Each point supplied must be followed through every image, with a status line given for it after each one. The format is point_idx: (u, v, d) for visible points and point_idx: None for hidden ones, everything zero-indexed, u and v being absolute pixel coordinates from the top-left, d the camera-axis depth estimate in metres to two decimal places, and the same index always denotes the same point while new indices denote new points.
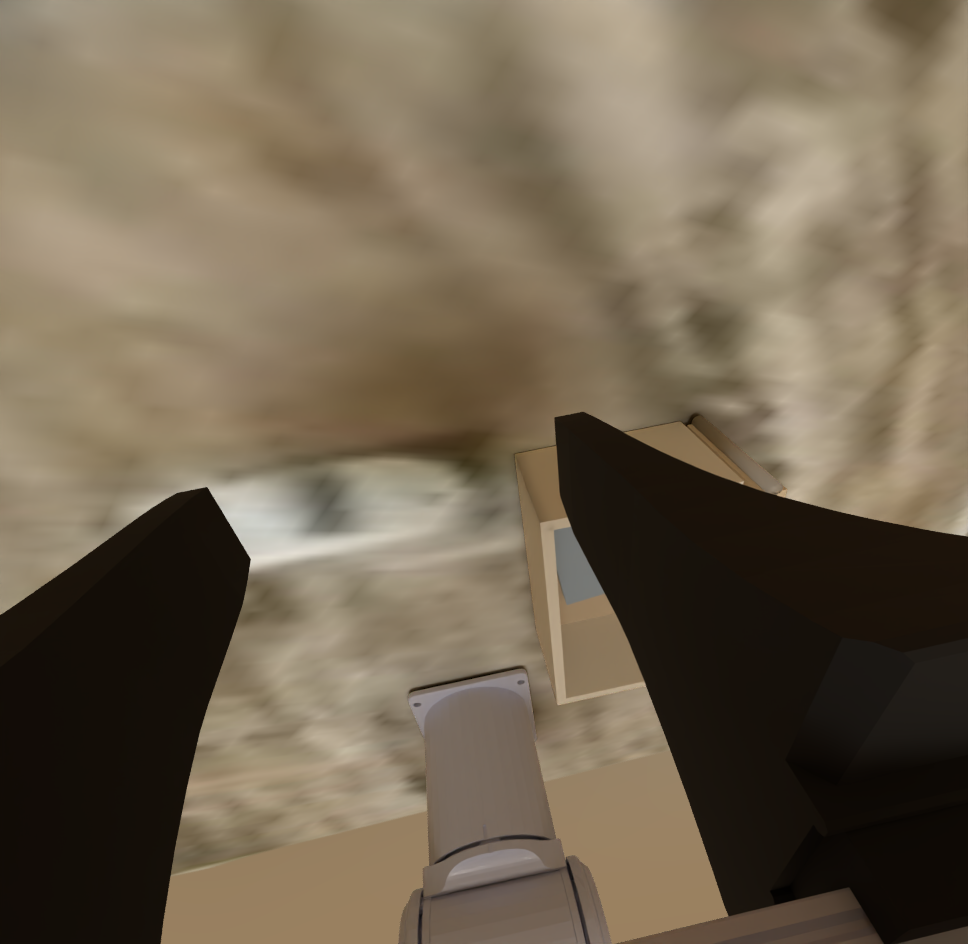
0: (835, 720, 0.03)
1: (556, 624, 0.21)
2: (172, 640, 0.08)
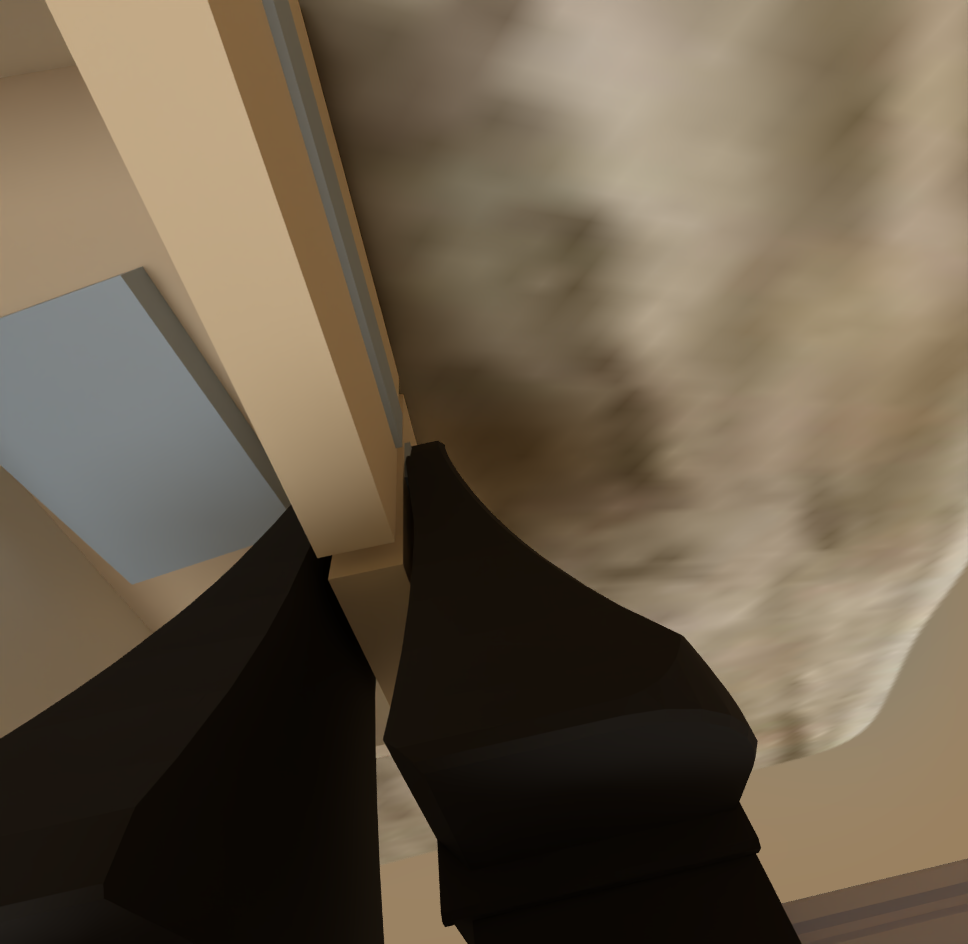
0: (430, 812, 0.03)
1: None
2: None
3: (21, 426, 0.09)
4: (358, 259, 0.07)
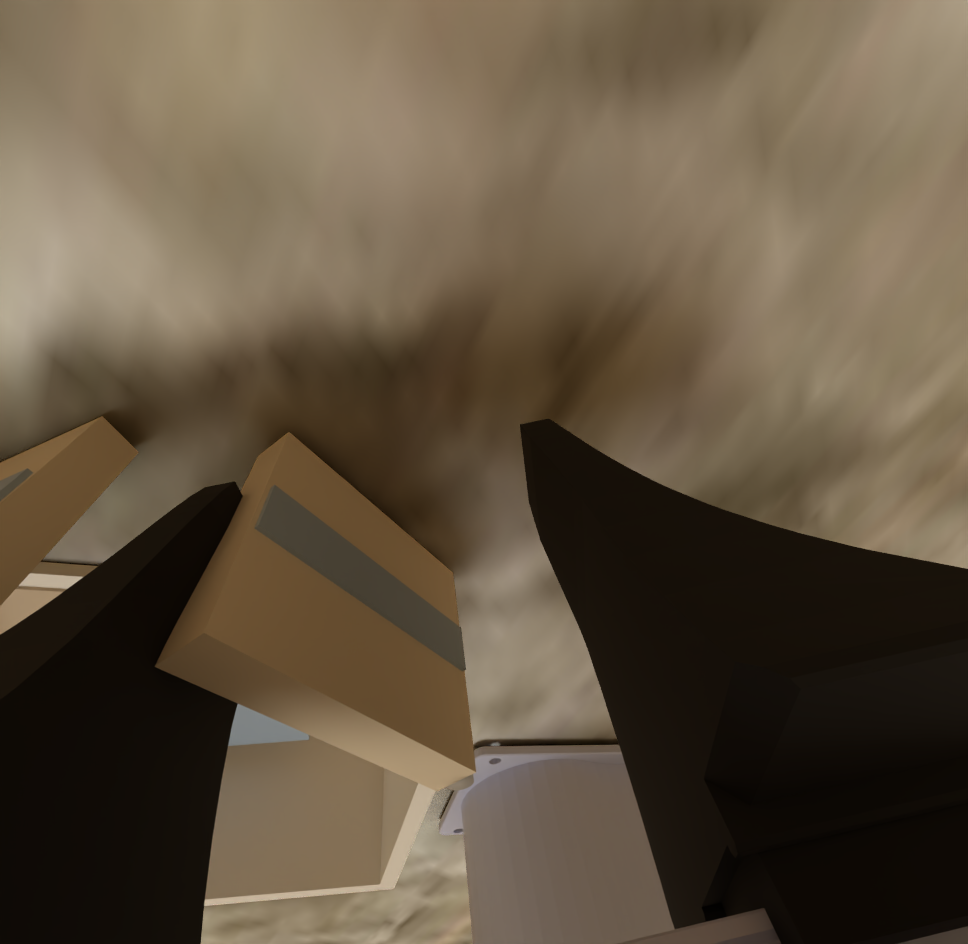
0: (740, 741, 0.03)
1: None
2: None
3: None
4: None
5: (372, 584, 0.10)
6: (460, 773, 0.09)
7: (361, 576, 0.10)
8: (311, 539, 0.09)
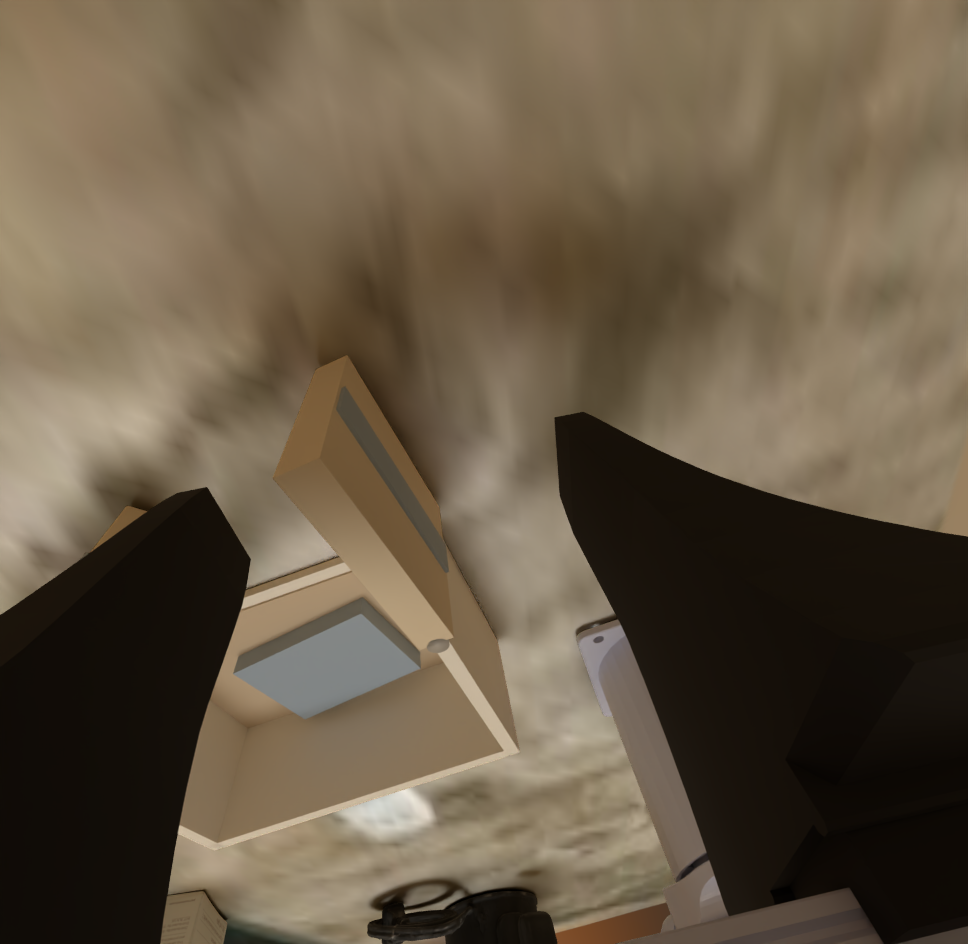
0: (835, 720, 0.03)
1: (352, 802, 0.18)
2: (172, 640, 0.08)
3: (323, 695, 0.20)
4: None
5: (397, 483, 0.13)
6: (441, 635, 0.12)
7: (392, 474, 0.12)
8: (365, 433, 0.12)
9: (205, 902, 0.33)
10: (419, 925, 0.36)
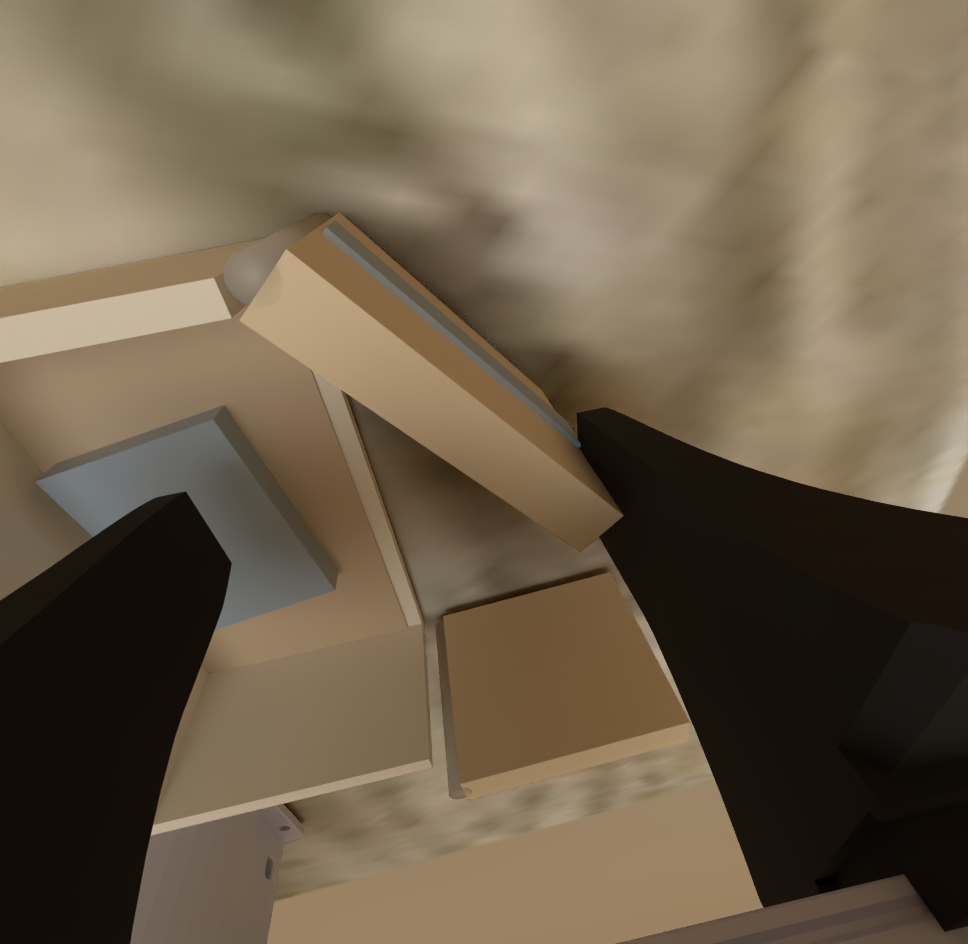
0: (896, 706, 0.03)
1: None
2: (146, 645, 0.08)
3: None
4: (478, 345, 0.09)
5: None
6: (474, 794, 0.13)
7: None
8: None
9: None
10: None
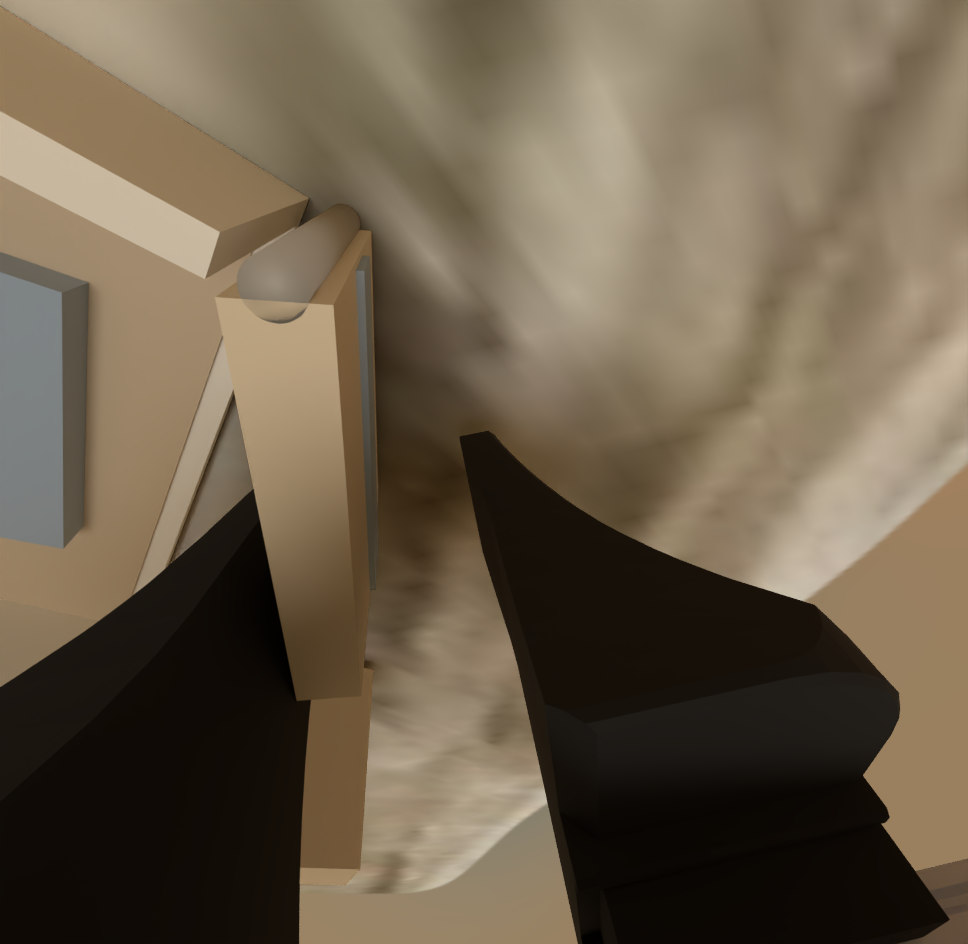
0: (572, 780, 0.03)
1: None
2: None
3: None
4: (375, 446, 0.09)
5: None
6: None
7: None
8: None
9: None
10: None
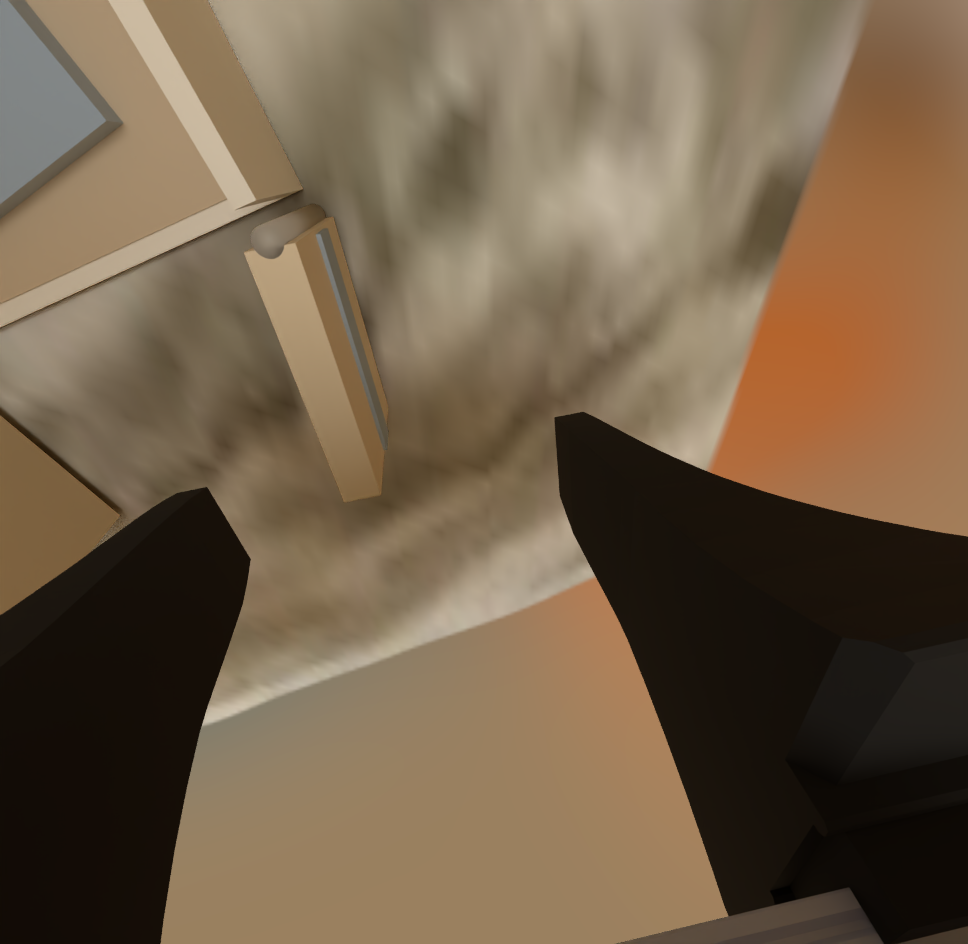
0: (835, 720, 0.03)
1: None
2: (172, 640, 0.08)
3: None
4: (364, 353, 0.14)
5: None
6: None
7: None
8: None
9: None
10: None
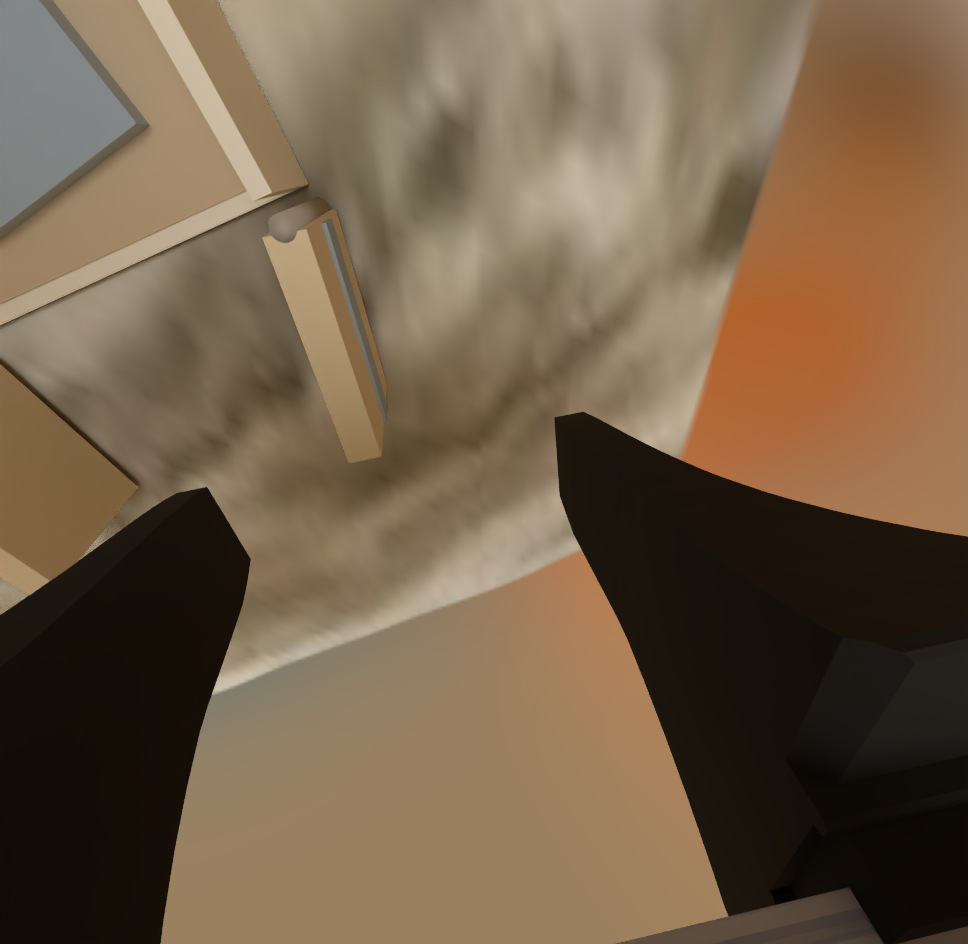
0: (834, 720, 0.03)
1: None
2: (172, 640, 0.08)
3: None
4: (364, 331, 0.15)
5: None
6: None
7: None
8: None
9: None
10: None
